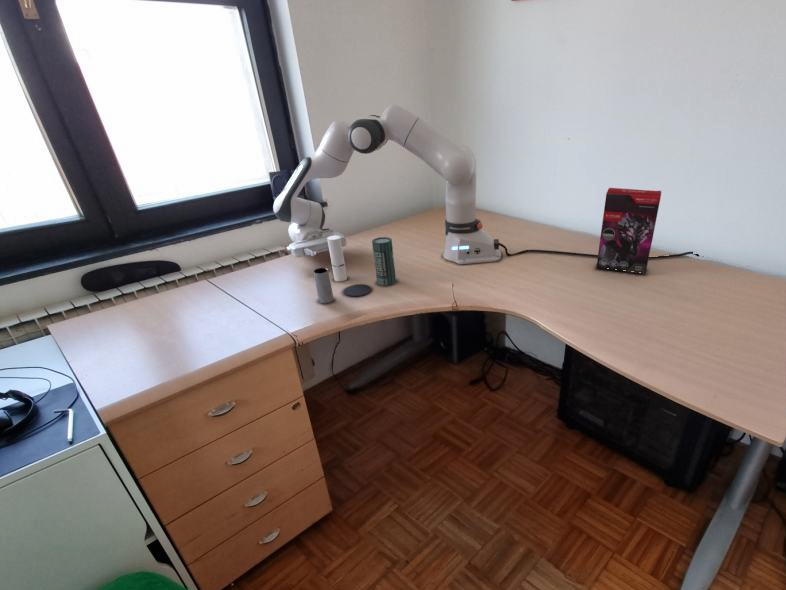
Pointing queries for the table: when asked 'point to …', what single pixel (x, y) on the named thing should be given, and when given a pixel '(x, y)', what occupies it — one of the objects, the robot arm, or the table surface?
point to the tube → (337, 258)
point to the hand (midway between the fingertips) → (326, 250)
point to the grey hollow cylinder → (323, 285)
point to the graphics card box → (627, 229)
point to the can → (384, 261)
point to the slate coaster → (357, 290)
